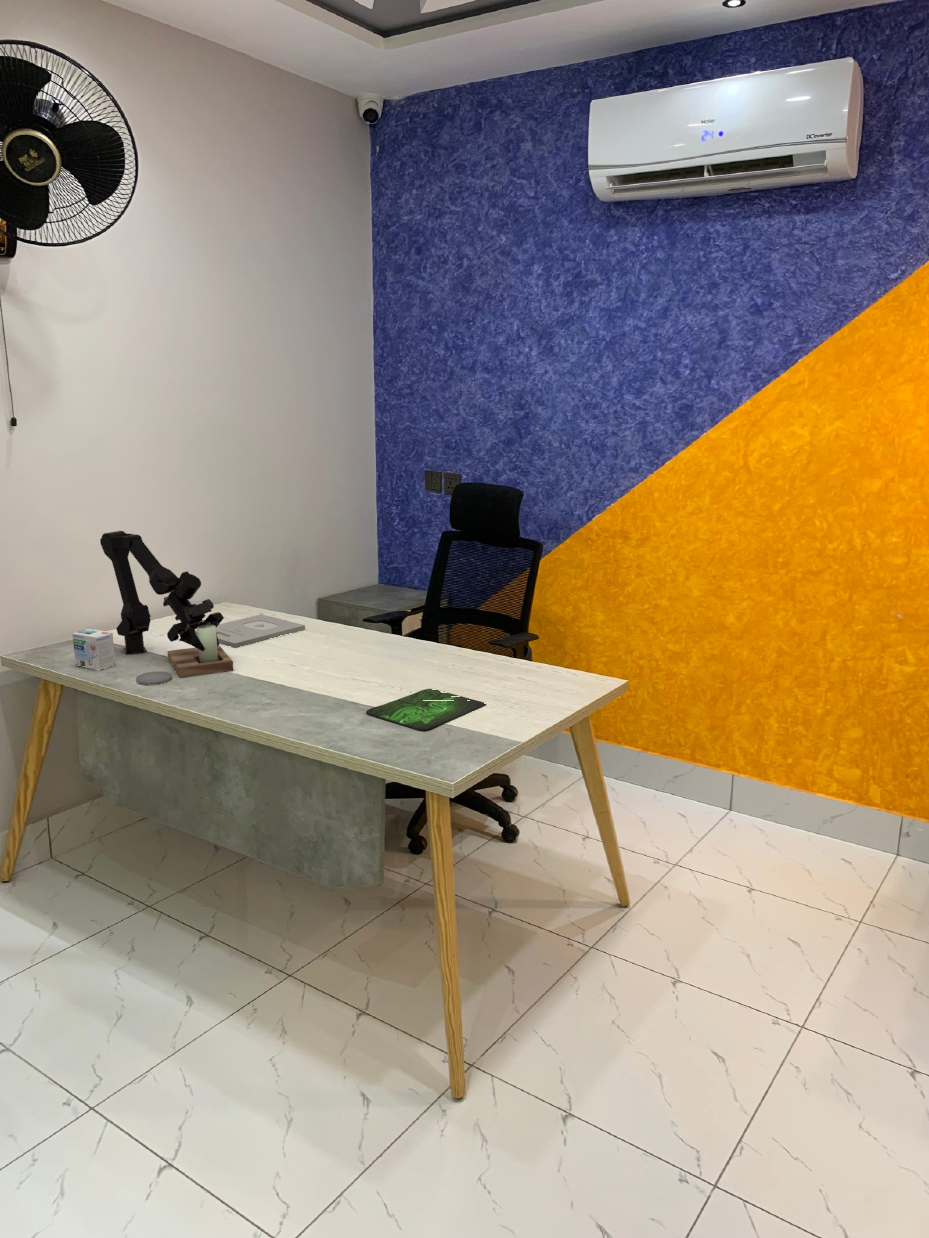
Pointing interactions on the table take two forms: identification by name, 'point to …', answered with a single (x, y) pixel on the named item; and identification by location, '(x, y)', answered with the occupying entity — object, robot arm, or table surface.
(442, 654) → the table surface
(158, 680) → the coaster
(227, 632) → the award plaque
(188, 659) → the puzzle board
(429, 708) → the mouse mat
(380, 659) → the table surface
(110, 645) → the light bulb box
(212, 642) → the peg
